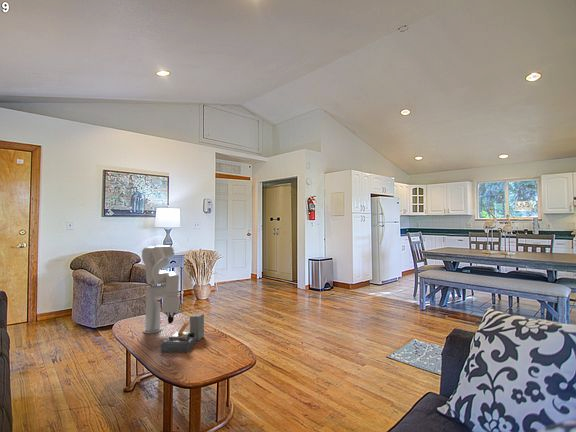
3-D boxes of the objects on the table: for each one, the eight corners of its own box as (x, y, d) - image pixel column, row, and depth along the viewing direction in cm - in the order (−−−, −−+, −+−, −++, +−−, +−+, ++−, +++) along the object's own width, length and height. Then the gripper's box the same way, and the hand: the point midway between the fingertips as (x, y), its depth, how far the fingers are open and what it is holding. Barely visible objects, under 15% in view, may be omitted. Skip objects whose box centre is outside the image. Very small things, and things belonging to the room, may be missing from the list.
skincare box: (198, 341, 198) (199, 317, 199) (188, 340, 200) (189, 316, 200) (204, 336, 206) (205, 313, 207) (194, 335, 208) (195, 312, 208)
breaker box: (171, 341, 196) (172, 329, 197) (196, 342, 196) (196, 329, 196) (160, 352, 180) (161, 338, 181) (187, 352, 180) (187, 339, 180)
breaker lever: (180, 331, 191) (187, 320, 191) (182, 333, 191) (189, 321, 191) (177, 334, 186) (184, 322, 186) (179, 336, 186) (186, 324, 186)
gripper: (157, 294, 187) (156, 324, 187) (181, 295, 187) (179, 325, 187) (162, 291, 194) (161, 320, 194) (185, 292, 194) (184, 321, 194)
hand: (170, 322), depth 190 cm, fingers closed
